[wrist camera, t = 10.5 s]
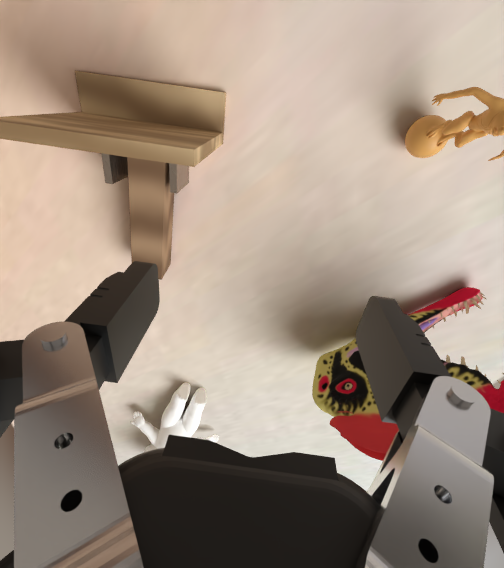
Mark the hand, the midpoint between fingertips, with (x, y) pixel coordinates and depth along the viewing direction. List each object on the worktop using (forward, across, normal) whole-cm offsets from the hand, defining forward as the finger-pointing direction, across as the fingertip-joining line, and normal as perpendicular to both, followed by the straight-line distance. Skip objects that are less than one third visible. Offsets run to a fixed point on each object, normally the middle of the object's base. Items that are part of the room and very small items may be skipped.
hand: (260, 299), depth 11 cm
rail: (+28, +14, +8) cm, 32 cm away
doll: (+28, +12, +57) cm, 65 cm away
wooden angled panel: (+28, +14, -4) cm, 32 cm away
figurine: (+28, -16, -6) cm, 33 cm away
